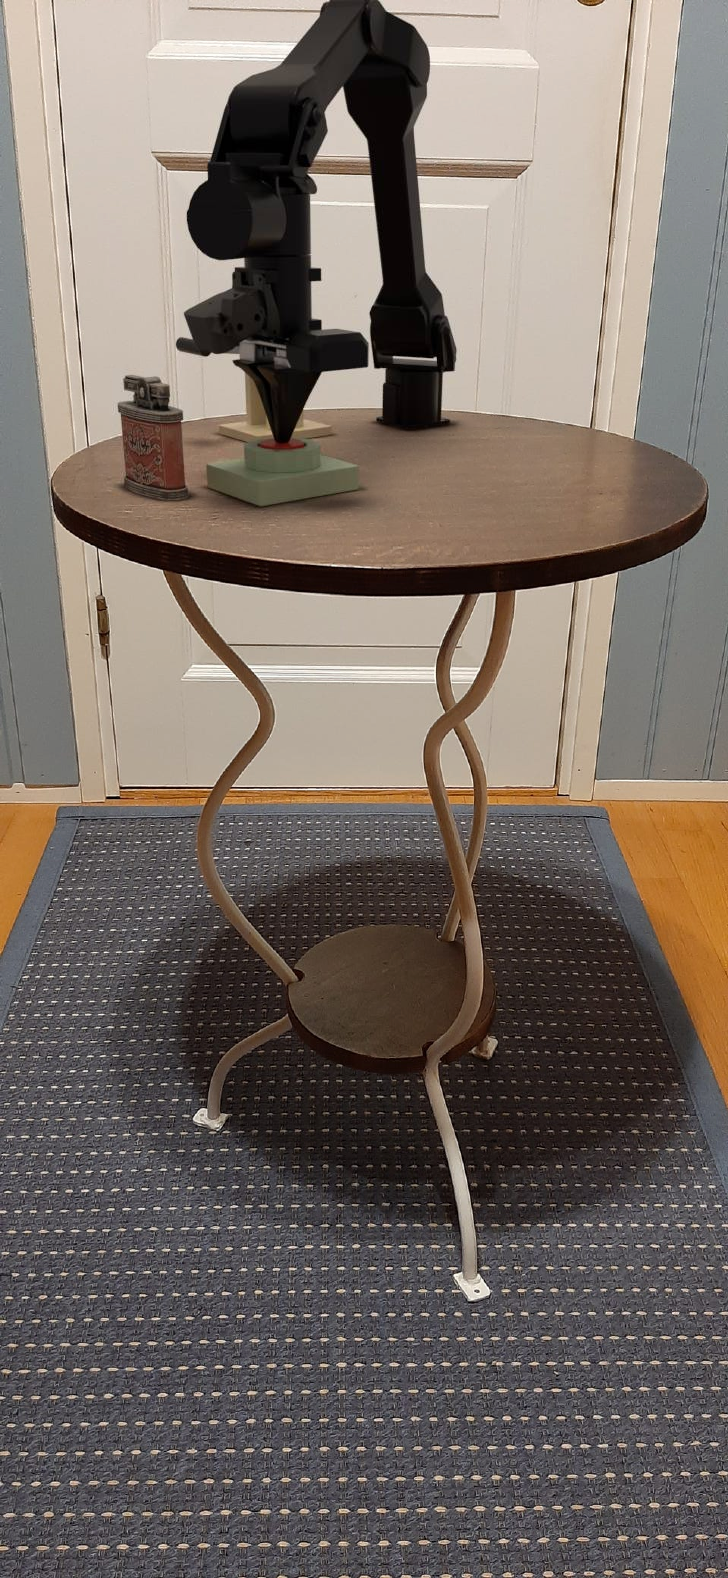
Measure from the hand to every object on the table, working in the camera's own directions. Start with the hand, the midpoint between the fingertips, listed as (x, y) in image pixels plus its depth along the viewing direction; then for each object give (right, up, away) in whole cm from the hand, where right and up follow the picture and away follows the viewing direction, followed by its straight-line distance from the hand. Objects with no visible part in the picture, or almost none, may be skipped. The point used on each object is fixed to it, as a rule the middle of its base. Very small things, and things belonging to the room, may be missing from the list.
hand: (282, 442), depth 105 cm
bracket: (-3, +8, +25) cm, 26 cm away
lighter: (-12, -5, +1) cm, 12 cm away
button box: (0, -4, +2) cm, 4 cm away
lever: (-6, +14, +18) cm, 24 cm away
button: (0, -2, +1) cm, 2 cm away
